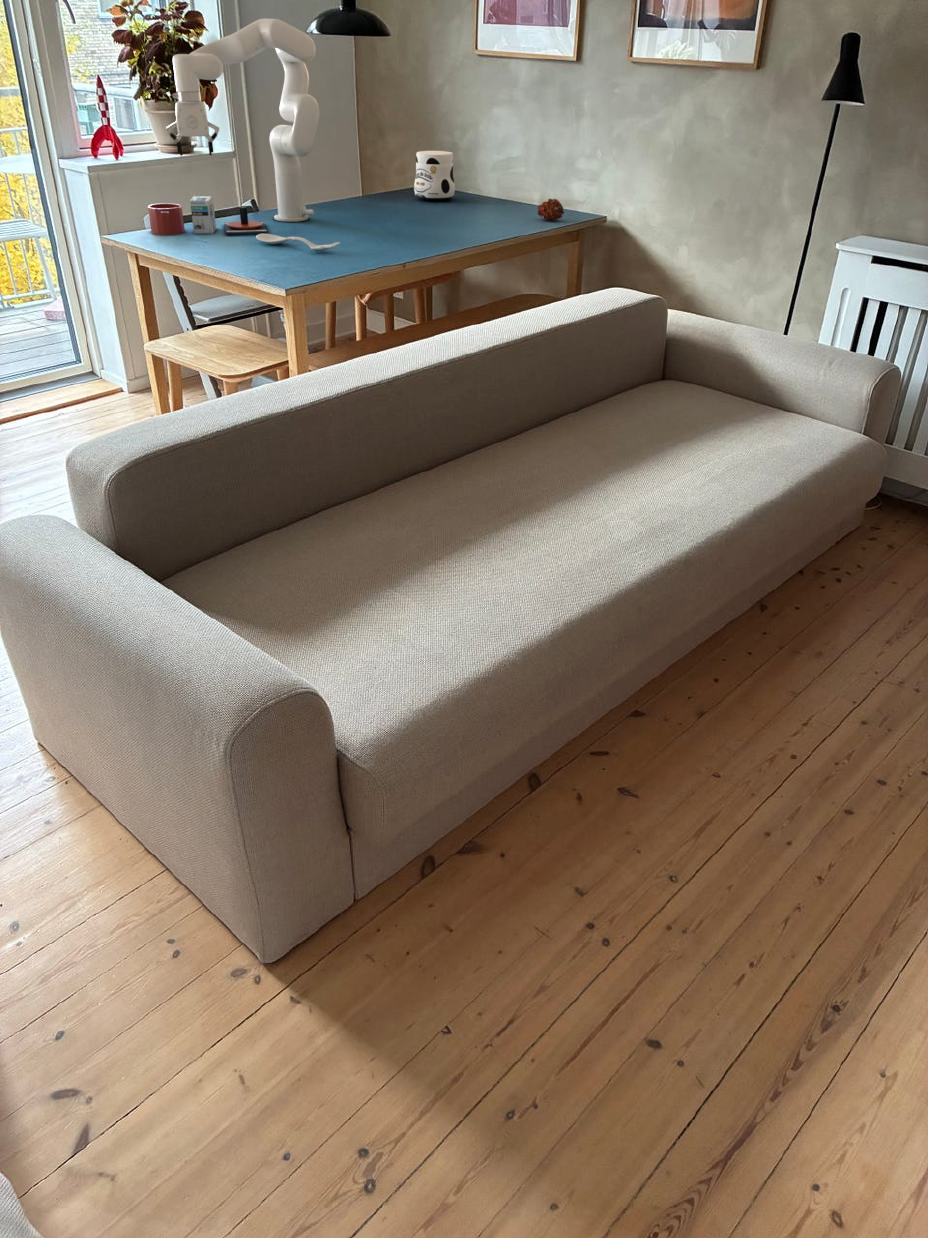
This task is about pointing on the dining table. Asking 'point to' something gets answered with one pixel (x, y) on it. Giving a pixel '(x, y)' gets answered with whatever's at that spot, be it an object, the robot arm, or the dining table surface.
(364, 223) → the dining table surface
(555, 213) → the red-brown bumpy ovoid
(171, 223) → the pot
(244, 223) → the pot lid
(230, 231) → the blue-grey flat slab
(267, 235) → the spoon
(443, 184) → the milk container
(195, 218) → the light bulb box
